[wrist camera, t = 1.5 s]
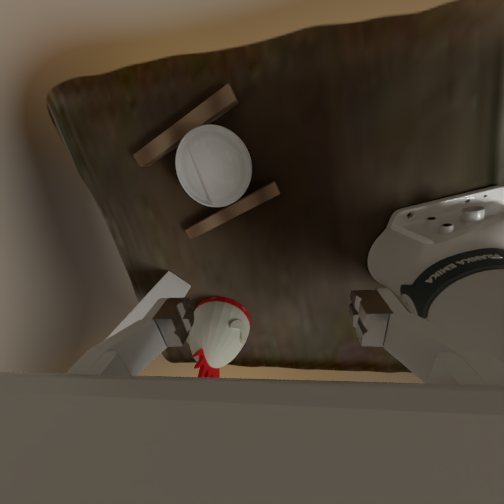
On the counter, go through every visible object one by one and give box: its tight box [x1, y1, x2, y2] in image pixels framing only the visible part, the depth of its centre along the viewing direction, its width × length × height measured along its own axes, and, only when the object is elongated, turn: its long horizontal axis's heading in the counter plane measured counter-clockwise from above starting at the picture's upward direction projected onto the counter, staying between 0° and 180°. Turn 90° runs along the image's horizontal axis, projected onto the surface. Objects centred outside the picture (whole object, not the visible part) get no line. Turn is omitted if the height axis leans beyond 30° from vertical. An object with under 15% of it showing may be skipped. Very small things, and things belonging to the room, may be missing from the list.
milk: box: [105, 271, 191, 340], centre depth 36 cm, size 6×6×22 cm
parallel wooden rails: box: [133, 83, 280, 240], centre depth 33 cm, size 18×16×2 cm
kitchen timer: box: [187, 297, 251, 378], centre depth 42 cm, size 14×14×15 cm
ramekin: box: [175, 124, 252, 207], centre depth 31 cm, size 11×11×5 cm
